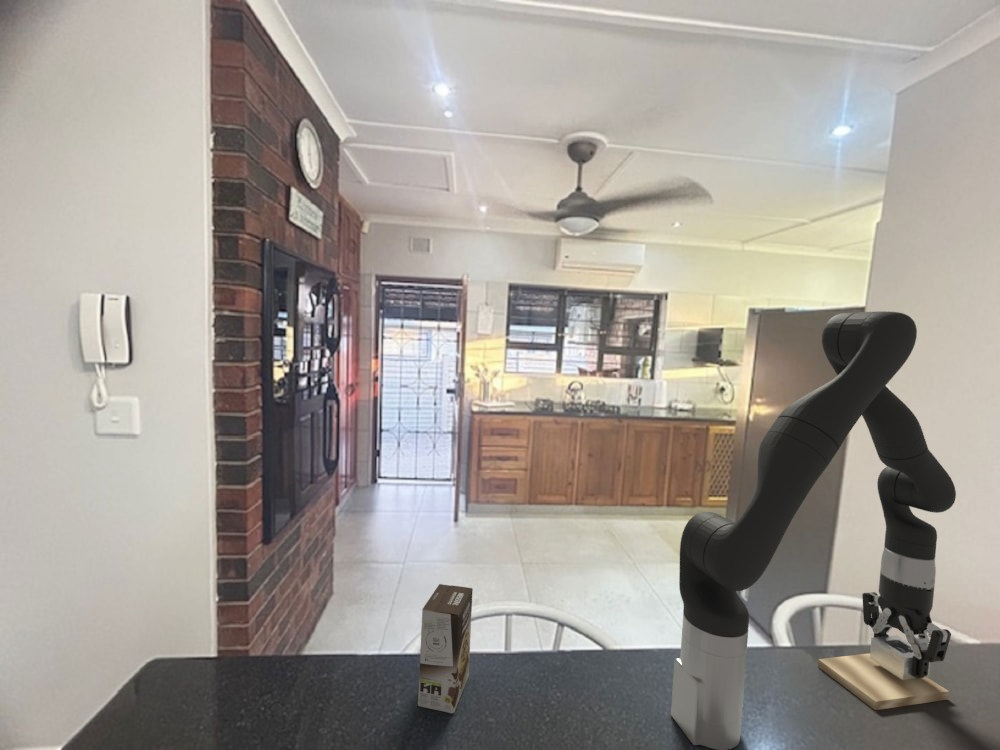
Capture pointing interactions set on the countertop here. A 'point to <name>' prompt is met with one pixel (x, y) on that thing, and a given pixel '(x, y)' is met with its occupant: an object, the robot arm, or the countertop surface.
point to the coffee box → (445, 647)
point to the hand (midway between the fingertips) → (898, 664)
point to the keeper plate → (880, 682)
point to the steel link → (893, 656)
